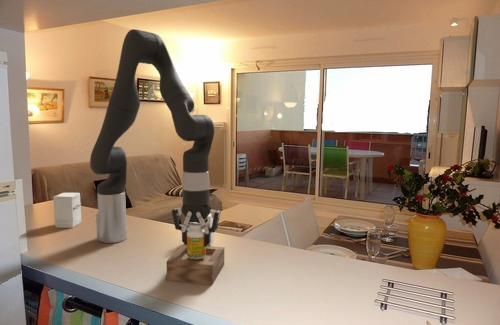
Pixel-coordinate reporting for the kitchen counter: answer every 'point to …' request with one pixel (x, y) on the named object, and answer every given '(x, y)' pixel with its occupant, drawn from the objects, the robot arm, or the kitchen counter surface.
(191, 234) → the supplement bottle
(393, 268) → the kitchen counter surface
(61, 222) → the supplement box
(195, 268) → the walnut tray
